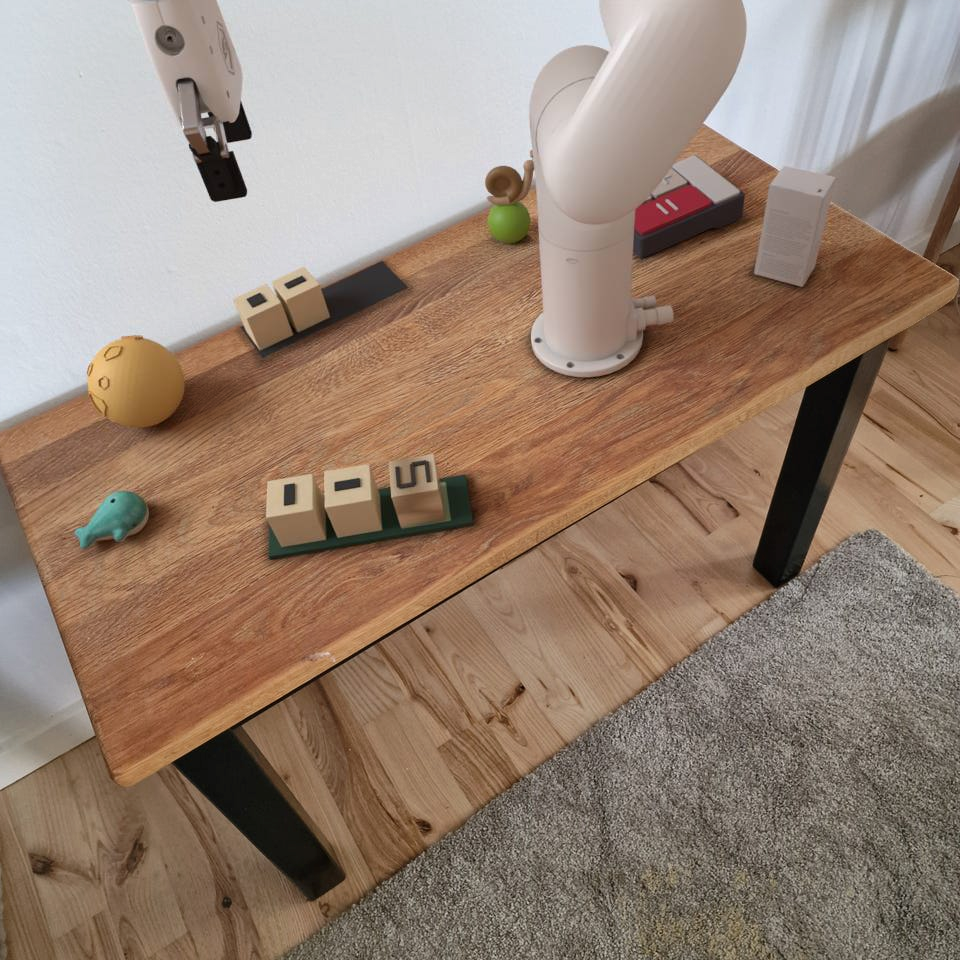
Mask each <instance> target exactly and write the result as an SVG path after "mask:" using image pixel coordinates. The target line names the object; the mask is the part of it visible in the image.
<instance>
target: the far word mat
mask: <svg viewBox="0 0 960 960" xmlns="http://www.w3.org/2000/svg"><path fill="white" fill-rule="evenodd" d="M271 285H272V287H273V290H274V291H273V290H272V289H271V287H270V286H269V285H268V284H267V283H265V284H263V285H261V286H259V287H257V288H254V289H252V290H250V291H247V292H245V293H243V294H240V295H239V296H237V297H234V298H232V301H233V303H234V306H235V308H236V311H237V313H238V316H239V318H240V320H241V323H242V326H240V329H241V330H242V332H243V333H244V335H245V336H246V338H247V340H249V342H250V343H251V345H252V346H253V347H254V349H255V350H256V352H257V353H258V355H259V356H260V357H261V358H262V359H264V358H265V357H268V356H270V355H272V354H274V353H277V352H278V351H281V350H283V349H285V348H286V347H289V346H291V345H292V344H293V345H294V343H297V342H299V341H301V340H303V339H305V338H308V337H309V336H311V335H313V334H315V333H318V332H320V331H322V330H324V329H326V328H328V327H331V326H332V325H334V324H336V323H338V322H340V321H343V320H346V319H347V318H349V317H351V316H352V315H355V314H357V313H359V312H361V311H363V310H365V309H367V308H369V307H371V306H374V305H375V304H378V303H380V302H382V301H384V300H386V299H389V298H390V297H393V296H394V295H396V294H398V293H401V292H402V291H404V290H406V289H408V288H409V287H408V286H407V285H406V284H405V283H404V282H403V281H402V280H401V279H400V278H399V276H397V275H396V273H394V272H393V270H391V268H390V267H389V266H388V265H387V264H386V263H384V261H383V260H380V261H378V262H376V263H374V264H372V265H369V266H368V267H365V268H364V269H362V270H359V271H357V272H355V273H353V274H351V275H348V276H347V277H344V278H342V279H340V280H338V281H336V282H333V283H332V284H329V285H328V286H325V287H323V288H321V284H320V283H319V282H318V281H317V279H316V278H314V276H313V275H312V274H311V273H310V272H309V270H308V269H307V268H306V267H305V266H302V267H300V268H298V269H295V270H293V271H292V272H289V273H287V274H285V275H283V276H280V277H278V278H276V279H274V280H272V281H271Z"/></svg>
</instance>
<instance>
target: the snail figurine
mask: <svg viewBox="0 0 960 960" xmlns="http://www.w3.org/2000/svg"><path fill="white" fill-rule="evenodd" d="M529 157H530V158H531V159H527V160H525V161H524V162H523V167H522V168H523V177H522V176H521V174H520V173H519V171H518V170H516V169H515V168H514V167H511V166H509V165H499V166H495V167H493V168H492V169H490V170H489V171H488V173H487V174H486V176H485V180H484V186H485V188H486V191H487V192H488V193H489V194H490V195H487V196H486V200H487V201H488V202H490V203H491V204H493V206H492V208H491V209H490V210H489V213H488V216H487V227H488V230H489V232H490V234H491V235H492V237H493V238H494V239H495V240H497V241H498V242H500V243H503V244H510V245H511V244H515V243H518V242H520V241H521V240H523V239H524V238H525V237H526V235H527V234H528V232H529V230H530V227H531V214H530V212H529V210H528V208H527V207H526V206H525V204H524V203H522V202H521V201H522V200H524V199H525V198H526V197H527V195H528V194H529V192H530V189H531V187H532V183H533V177H534V172H535V171H534V161H533V151H532V149H531V150H530V151H529Z"/></svg>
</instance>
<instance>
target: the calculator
mask: <svg viewBox="0 0 960 960" xmlns="http://www.w3.org/2000/svg"><path fill="white" fill-rule="evenodd" d="M745 196H746V194H745V193H744V191H743V190H741V189H740V188H738V187H737V186H736V185H735V184H733V183H732V182H731V181H729V179H727V178H726V177H725V176H723V175H722V174H720V172H718V171H717V170H716V169H715V168H713V167H712V166H711V165H710V164H708V163H707V162H706V161H704V160H703V159H702V158H701V157H699V156H698V155H696V154H695V155H691V156H688V157H686V158H684V159H680V160H678V161H676V162H675V163H674V165H673V166H672V167H671V169H670V170H669V171H668V173H667V174H666V176H665V177H664V178H663V180H662V181H661V182H660V184H659V185H658V186H657V188H656V189H655V190H654V191H653V192H652V194H651V195H650V196H649V197H648V198H647V199H646V200H645V201H644V202H643V203H642V204H641V205H640V206H639V207H637V208H636V209H635V224H634V240H633V253H634V254H636V255H637V256H638V258H640V259H644V258H647V257H649V256H651V255H653V254H656V253H657V252H660V251H662V250H665V249H668V248H670V247H671V246H673V245H676V244H678V243H681V242H684V241H685V240H687V239H690V238H692V237H694V236H696V235H699V234H701V233H703V232H705V231H706V232H707V231H708V230H710V229H722V228H724V227H725V226H728V225H731V224H732V223H735V222H738V221H739V220H741V219H742V218H743V213H744V205H745V198H746V197H745Z"/></svg>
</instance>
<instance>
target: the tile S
mask: <svg viewBox="0 0 960 960" xmlns="http://www.w3.org/2000/svg"><path fill="white" fill-rule="evenodd" d="M388 473H389V484H390V485H389V486H390V487H391V497H392V500H393V504H394V507H395V510H396V513H397V516H398V520H399V523H400V526H401V528H403V527H409V526H415V525H421V524H427V523H433V522H439V521H445V520H446V517H445V510H444V502H443V494H442V487H441V482H440V479H441V478H440V474H439V470H438V465H437V460H436V456H435V453H430V454H423V455H418V456H412V457H407V458H400V459H394V460H389V461H388Z"/></svg>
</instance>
